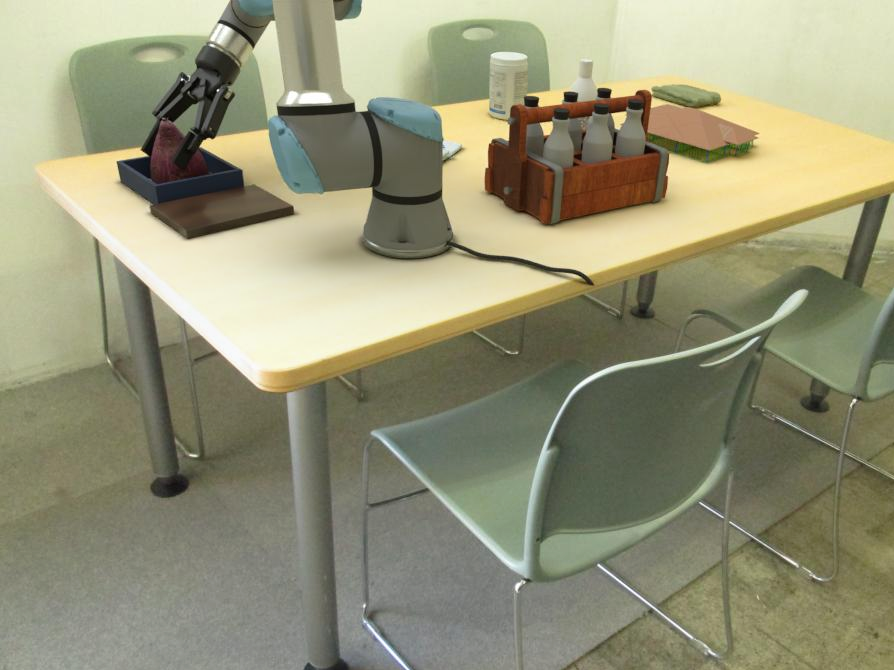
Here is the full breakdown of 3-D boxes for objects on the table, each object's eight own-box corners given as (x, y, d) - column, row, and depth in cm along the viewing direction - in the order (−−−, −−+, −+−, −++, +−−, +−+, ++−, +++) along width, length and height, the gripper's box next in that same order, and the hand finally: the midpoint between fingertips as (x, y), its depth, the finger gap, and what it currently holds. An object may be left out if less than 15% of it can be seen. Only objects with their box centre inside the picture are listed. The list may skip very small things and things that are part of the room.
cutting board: (294, 213, 153) (293, 205, 152) (187, 238, 141) (186, 230, 140) (255, 191, 161) (254, 183, 160) (151, 213, 149) (149, 205, 148)
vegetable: (195, 213, 158) (180, 143, 147) (143, 199, 159) (125, 128, 148) (222, 183, 165) (211, 113, 154) (173, 169, 166) (157, 99, 155)
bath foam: (586, 157, 193) (596, 65, 182) (558, 151, 195) (566, 60, 184) (597, 149, 198) (606, 59, 187) (570, 144, 200) (577, 55, 189)
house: (717, 167, 193) (724, 131, 189) (604, 133, 210) (607, 99, 206) (766, 149, 208) (773, 115, 203) (656, 118, 225) (661, 86, 221)
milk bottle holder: (674, 199, 173) (689, 102, 162) (536, 229, 155) (543, 121, 144) (608, 169, 187) (618, 77, 176) (474, 193, 168) (476, 92, 158)
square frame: (244, 190, 161) (242, 169, 159) (159, 208, 151) (154, 186, 149) (203, 166, 171) (200, 146, 169) (120, 181, 161) (116, 161, 159)
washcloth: (677, 90, 254) (679, 79, 252) (722, 105, 243) (725, 93, 241) (647, 95, 247) (648, 83, 245) (692, 110, 236) (694, 98, 234)
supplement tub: (521, 111, 223) (524, 51, 215) (529, 121, 215) (532, 59, 207) (485, 110, 221) (487, 50, 213) (491, 120, 213) (493, 59, 205)
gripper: (274, 80, 156) (213, 185, 154) (201, 60, 166) (143, 158, 164) (247, 53, 150) (183, 162, 147) (173, 33, 160) (112, 135, 157)
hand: (162, 160), depth 156 cm, fingers closed on vegetable, 9 cm apart
